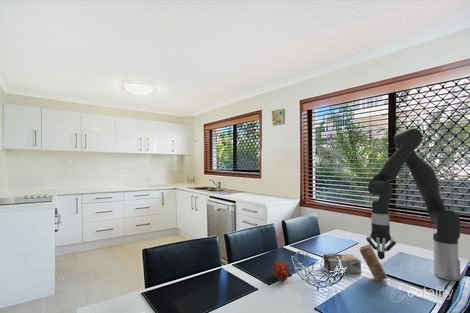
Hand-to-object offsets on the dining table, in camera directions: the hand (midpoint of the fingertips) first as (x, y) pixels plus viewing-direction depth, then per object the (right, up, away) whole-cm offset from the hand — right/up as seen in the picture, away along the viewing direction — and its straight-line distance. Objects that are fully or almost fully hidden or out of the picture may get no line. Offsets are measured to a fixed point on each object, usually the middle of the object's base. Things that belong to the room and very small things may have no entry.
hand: (381, 258), depth 117 cm
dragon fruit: (-47, -11, +3) cm, 48 cm away
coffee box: (-5, -7, +12) cm, 15 cm away
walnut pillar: (0, -9, 0) cm, 9 cm away
